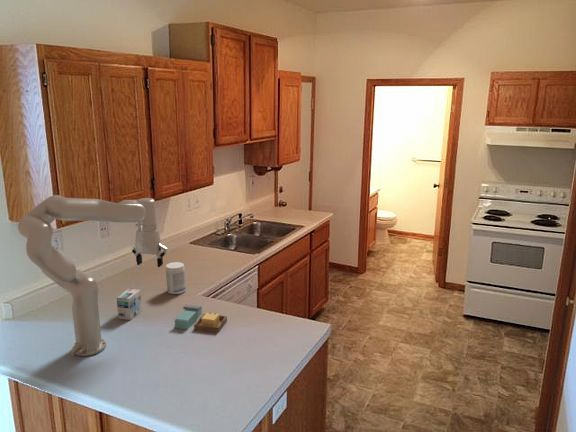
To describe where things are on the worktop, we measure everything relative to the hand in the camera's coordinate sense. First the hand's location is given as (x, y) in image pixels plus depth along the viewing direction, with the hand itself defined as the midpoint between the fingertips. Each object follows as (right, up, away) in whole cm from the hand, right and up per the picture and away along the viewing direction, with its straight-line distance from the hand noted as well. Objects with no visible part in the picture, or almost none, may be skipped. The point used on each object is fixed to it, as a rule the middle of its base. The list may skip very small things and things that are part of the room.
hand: (149, 265), depth 201 cm
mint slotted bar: (+15, -27, +11) cm, 32 cm away
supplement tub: (+1, -18, +42) cm, 46 cm away
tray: (+26, -28, +7) cm, 38 cm away
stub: (+25, -27, +6) cm, 38 cm away
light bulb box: (-14, -25, +16) cm, 33 cm away
